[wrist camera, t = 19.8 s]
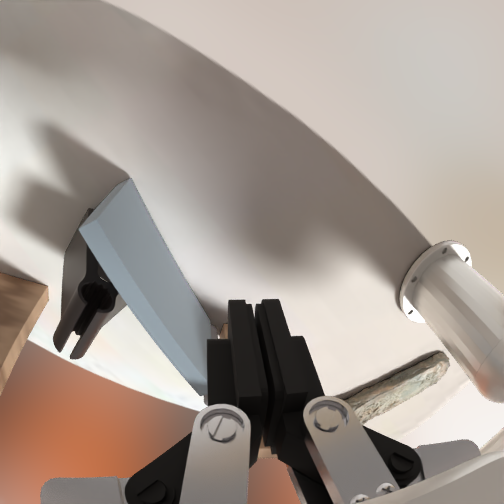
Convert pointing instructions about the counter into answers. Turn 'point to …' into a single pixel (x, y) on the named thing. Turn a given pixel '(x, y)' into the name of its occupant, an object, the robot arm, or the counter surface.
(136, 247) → the blue rectangular panel
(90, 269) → the phone stand
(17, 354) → the brown wooden blocks
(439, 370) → the long grey stone
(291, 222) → the counter surface
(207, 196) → the counter surface
